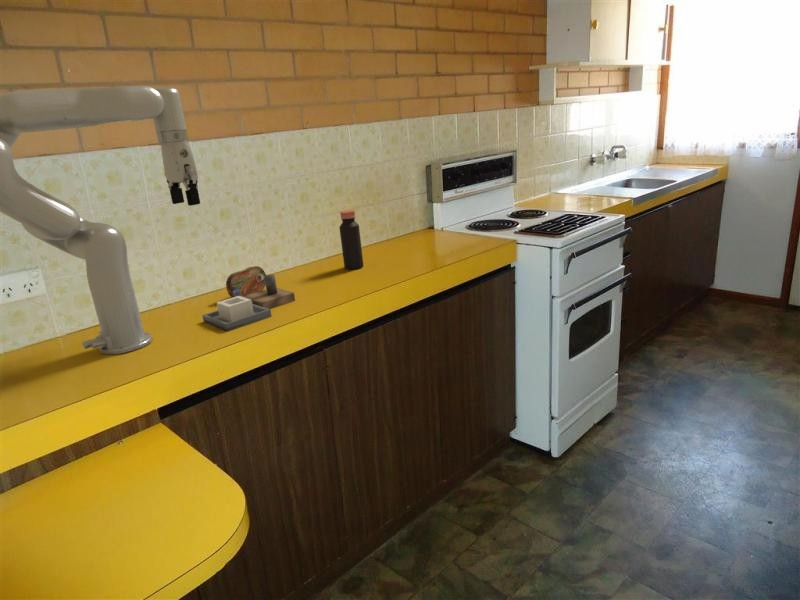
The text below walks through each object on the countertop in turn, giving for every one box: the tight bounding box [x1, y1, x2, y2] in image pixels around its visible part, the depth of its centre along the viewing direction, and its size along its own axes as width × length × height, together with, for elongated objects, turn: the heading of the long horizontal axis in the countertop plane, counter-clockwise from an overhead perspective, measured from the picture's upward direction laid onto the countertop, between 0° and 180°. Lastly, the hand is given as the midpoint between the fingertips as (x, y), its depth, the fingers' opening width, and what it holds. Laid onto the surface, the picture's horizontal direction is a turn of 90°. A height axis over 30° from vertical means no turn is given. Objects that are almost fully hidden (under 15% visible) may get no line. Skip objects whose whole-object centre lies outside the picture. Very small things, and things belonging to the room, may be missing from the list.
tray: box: [201, 304, 272, 332], centre depth 159 cm, size 14×14×2 cm
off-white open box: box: [216, 296, 254, 322], centre depth 159 cm, size 7×7×4 cm
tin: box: [225, 265, 267, 298], centre depth 181 cm, size 15×3×8 cm, turn 148°
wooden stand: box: [244, 273, 296, 310], centre depth 171 cm, size 11×11×8 cm
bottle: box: [338, 209, 364, 271], centre depth 200 cm, size 7×7×20 cm
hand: (186, 203), depth 154 cm, fingers open, 9 cm apart
